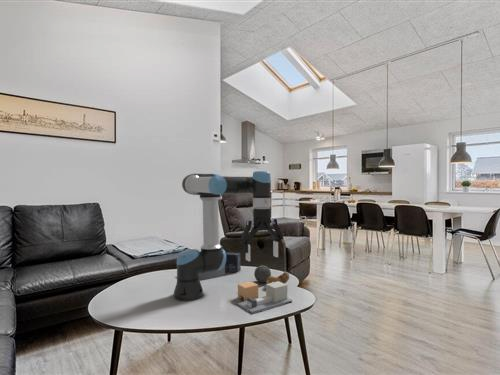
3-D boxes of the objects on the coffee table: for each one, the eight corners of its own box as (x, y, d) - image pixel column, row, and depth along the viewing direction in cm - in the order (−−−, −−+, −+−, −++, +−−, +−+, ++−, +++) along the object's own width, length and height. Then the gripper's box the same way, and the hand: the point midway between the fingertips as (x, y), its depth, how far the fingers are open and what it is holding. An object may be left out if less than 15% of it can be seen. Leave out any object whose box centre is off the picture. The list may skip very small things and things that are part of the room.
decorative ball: (256, 285, 170) (256, 268, 170) (252, 280, 180) (252, 264, 180) (273, 284, 173) (273, 267, 173) (268, 279, 182) (268, 262, 182)
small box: (241, 270, 202) (240, 252, 202) (237, 273, 196) (237, 255, 195) (223, 268, 206) (223, 251, 206) (219, 271, 199) (219, 254, 199)
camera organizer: (183, 275, 191) (183, 266, 191) (213, 269, 204) (213, 261, 204) (193, 281, 178) (193, 271, 178) (225, 275, 190) (224, 266, 190)
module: (237, 297, 152) (237, 284, 152) (250, 294, 156) (250, 281, 156) (245, 302, 146) (245, 287, 146) (258, 298, 151) (258, 284, 151)
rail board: (238, 305, 142) (238, 288, 142) (276, 294, 155) (276, 279, 155) (252, 313, 132) (252, 296, 132) (292, 302, 145) (292, 285, 145)
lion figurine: (288, 286, 169) (288, 270, 169) (290, 289, 163) (290, 273, 163) (263, 286, 168) (263, 271, 168) (264, 290, 163) (263, 273, 163)
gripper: (239, 210, 114) (239, 264, 114) (291, 207, 126) (291, 256, 126) (231, 208, 121) (231, 260, 121) (281, 206, 133) (281, 253, 133)
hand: (262, 258), depth 123 cm, fingers open, 13 cm apart
